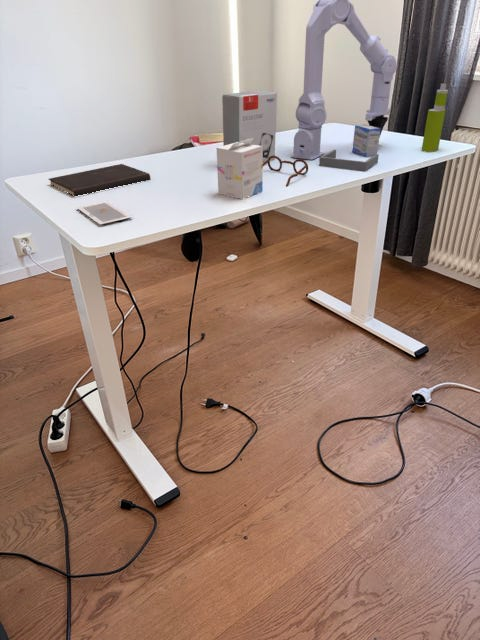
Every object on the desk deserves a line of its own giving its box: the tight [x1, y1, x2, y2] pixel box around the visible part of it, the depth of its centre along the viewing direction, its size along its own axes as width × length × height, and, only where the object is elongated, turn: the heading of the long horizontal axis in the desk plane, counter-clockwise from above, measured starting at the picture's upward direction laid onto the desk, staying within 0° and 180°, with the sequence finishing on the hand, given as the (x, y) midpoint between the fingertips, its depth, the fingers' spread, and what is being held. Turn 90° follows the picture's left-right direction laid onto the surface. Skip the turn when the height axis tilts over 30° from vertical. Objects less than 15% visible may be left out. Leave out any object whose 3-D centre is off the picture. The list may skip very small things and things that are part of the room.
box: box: [318, 149, 380, 172], centre depth 149 cm, size 11×15×2 cm
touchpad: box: [75, 200, 133, 225], centre depth 114 cm, size 8×15×2 cm, turn 36°
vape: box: [421, 83, 449, 153], centre depth 158 cm, size 4×6×20 cm, turn 125°
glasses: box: [263, 155, 309, 188], centre depth 137 cm, size 13×13×5 cm
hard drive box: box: [221, 90, 278, 163], centre depth 149 cm, size 16×8×20 cm, turn 129°
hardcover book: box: [48, 163, 152, 197], centre depth 137 cm, size 16×23×2 cm
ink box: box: [216, 138, 264, 200], centre depth 123 cm, size 9×8×13 cm
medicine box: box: [351, 124, 381, 158], centre depth 158 cm, size 8×4×9 cm, turn 25°
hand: (375, 140), depth 166 cm, fingers closed
